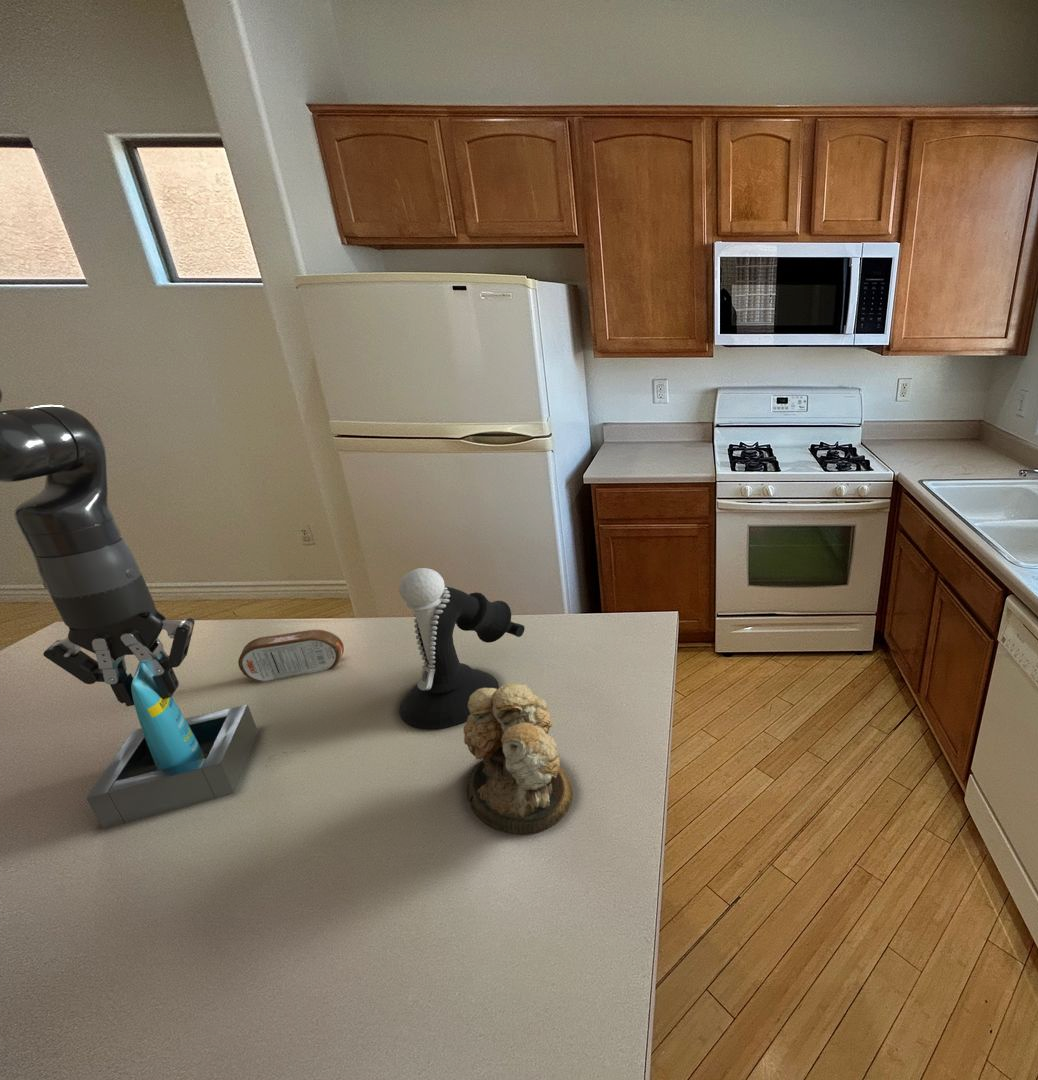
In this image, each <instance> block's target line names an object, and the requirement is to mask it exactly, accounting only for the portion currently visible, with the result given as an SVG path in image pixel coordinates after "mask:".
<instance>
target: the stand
mask: <svg viewBox="0 0 1038 1080" xmlns="http://www.w3.org/2000/svg"><path fill="white" fill-rule="evenodd" d="M184 718H185V720H186V721H187V723H188V725H189V727H190V729H191V730H192V732H193V734H194V736H195V738H196V740H197V742H198V743H199V745H200V747H201V749H202V751H203V753H204V754H205V753H208V752H209V753H208V754H207V756H206V759H202V760H198V761H194V762H190V763H186V764H182V765H178V766H174V767H170V768H166V769H162V770H157V768H156V765H155V763H154V760H153V757H152V755H151V752H150V750H149V747H148V744H147V742H146V739H145V736H144V733H143V731H142V728H141V727H140V728H138V729H133V730H131V733H130V734H129V735H128V737H127V738H126V739H125V741H124V743H123V744H122V745H121V747H120V748H119V750H118V751H117V752H116V754H115V756H114V757H113V759H111V761H110V762H109V764H108V765H107V767H106V768H105V769H104V772H103V773H102V774H101V775H100V777H99V778H98V780H97V781H96V783H95V784H94V786H93V787H92V788H91V790H90V791H89V792H88V794H87V795H86V797H85V800H86V801H87V803H88V805H89V807H90V808H91V810H92V812H93V813H94V815H95V816H96V819H97V820H98V822H99V823H100V826H101V827H102V829H103V830H106V829H110V828H112V827H113V828H114V827H117V826H120V825H125V824H127V823H131V822H135V821H138V820H142V819H145V818H149V817H150V818H151V817H153V816H156V815H160V814H163V813H168V812H171V811H175V810H178V809H182V808H185V807H190V806H193V805H196V804H200V803H204V802H207V801H211V800H215V799H218V798H222V797H226V796H228V795H233V794H235V791H236V789H237V787H238V784H239V782H240V779H241V776H242V774H243V772H244V770H245V767H246V764H247V762H248V759H249V757H250V755H251V752H252V749H253V747H254V744H255V741H256V739H257V737H258V734H259V729H258V727H257V725H256V721H255V720H254V716H253V714H252V712H251V709H250V707H249V704H243V705H240V706H235V707H229V708H225V709H222V710H217V711H212V712H208V713H204V714H199V715H194V716H190V717H184Z"/></svg>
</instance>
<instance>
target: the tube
mask: <svg viewBox="0 0 1038 1080" xmlns="http://www.w3.org/2000/svg"><path fill="white" fill-rule="evenodd" d="M153 675H154V674H152V673H151V671H150V670H149V669H148V667H147V666H146V665H145V664H144V663H141V662H140V661H139V660H138V664H137V666H136V670H135V672H134V675H133V681H132V684H131V690H132V697H133V701H134V705H133V706H134V709H135V711H136V715H137V718H138V721H139V722H138V723H139V724H140V729H141V728H142V731H143V733H144V736H145V739H146V742H147V744H148V747H149V750H150V752H151V755H152V757H153V760H154V763H155V765H156V768H157V769H156V771H158V770H162V769H166V768H170V767H174V766H178V765H182V764H186V763H190V762H194V761H198V760H202V759H207V756H206V755H205V753H203V751H202V749H201V747H200V745H199V743H198V742H197V740H196V738H195V736H194V734H193V732H192V730H191V729H190V727H189V725H188V723H187V721H186V720H185V718H186V717H185V716H184V714H183V712H182V711H181V709H180V707H179V705H178V704H177V702H176V700H175V699H174V697H173V696H172V697H170V698H165V699H162V697H161V695H160V693H159V691H158V689H157V686H156V684H155V682H154V680H153V678H152V676H153Z"/></svg>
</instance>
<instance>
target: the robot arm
mask: <svg viewBox="0 0 1038 1080" xmlns="http://www.w3.org/2000/svg"><path fill="white" fill-rule="evenodd" d="M3 394H4V393H3V390H2V388H1V387H0V404H2V400H3ZM104 443H105V442H104V440H103V438H102V436H101V433H100V432H99V431H98V428H96V426H95V425H94V424H93V423H92V422H91V421H90V420H89V419H88V418H87V417H86V416H84V415H83V414H81V413H80V412H78V411H77V410H75V409H72V408H70V407H67V406H63V405H55V404H54V405H53V404H46V405H44V404H43V405H36V406H30V407H25V408H23V407H22V408H15V409H9V410H1V411H0V483H18V482H19V483H20V482H23V481H29V480H33V479H36V478H37V479H38V478H41V477H45V482H44V487H43V488H42V490H41V491H39V492H38V493H37V494H36V495H34V496H32V497H30V498H28V499H26V500H24V501H23V502H21V503H19V504H18V505H17V506H16V507H15V508H14V510H13V517H14V520H15V523H16V525H17V526H18V529H19V530H20V533H21V534H22V536H23V538H24V541H25V543H26V544H27V546H28V548H29V550H30V552H31V554H32V556H33V559H34V561H35V565H36V568H37V571H38V575H39V577H40V579H41V582H42V585H43V587H44V589H46V590H47V593H48V594H49V596H50V598H51V600H52V602H53V605H54V606H55V608H56V610H57V612H58V614H59V616H60V617H61V619H62V621H63V623H64V625H65V626H67V627H68V633H67V637H66V638H63V639H56V640H55V642H53V643H52V644H51V645H50V646H49V647H47V648H46V650H45V651H44V652H43V657H45V659H47V660H49V661H50V662H52V663H53V664H55V665H56V666H58V667H60V668H61V669H62V670H64V671H66V672H67V673H69V674H70V675H72V676H73V677H74V678H76V679H78V680H79V681H80V682H82V683H83V684H86V685H93V684H95V683H105V684H107V685H109V686H110V688H111V689H112V692H113V694H114V696H115V697H116V700H117V701H118V702H119V703H121V704H125V707H132V706H135V705H134V701H133V697H132V690H131V684H132V681H133V678H134V676H133V675H132V673H130V672H128V673H127V669H128V668H127V664H126V659H125V657H126V656H130V655H131V656H135V658H136V659H137V660H138V662H139V661H140V662H141V663H144V664H145V665H146V666H147V667H148V669H149V670H150V671H151V673H152V674H154V675H153V676H152V678H153V680H154V682H155V684H156V686H157V689H158V691H159V693H160V695H161V697H162V699H165V698H170V697H173V695H174V693H175V692H176V691H177V689H178V688H179V685H180V682H179V679H178V677H177V676H176V673H175V671H174V668H178V667H179V666H181V664H182V663H183V661H184V659H185V658H186V657H187V656H188V652H189V648H190V644H191V640H192V635H193V633H194V632H193V631H194V627H195V620H194V619H193V618H191V617H186V618H183V620H176V619H174V620H173V619H167V618H166V616H165V615H164V614H163V613H161V612H160V611H159V610H157V608H156V605H155V602H154V599H153V597H152V594H151V592H150V589H149V588H148V585H147V583H146V580H145V578H144V576H143V573H142V571H141V569H140V567H139V565H138V563H137V559H136V557H135V556H134V554H133V552H132V550H131V548H130V547H129V545H128V544H127V543H126V541H125V540H124V537H123V536H122V533H121V530H120V529H119V528H120V527H119V526H118V524H117V522H116V520H115V517H114V515H113V513H112V511H111V508H110V506H109V497H108V495H109V491H108V490H109V487H108V469H107V453H106V446H105V444H104ZM163 630H165V631H166V633H167V637H168V638H169V639H172V642H171V643H172V644H171V647H170V651H169V655H168V654H167V652H166V651H165V649H164V644H163V642H162V641H161V640H160V639H159V636H160V634H161V632H162V631H163ZM81 649H84V650H86V651H88V652H91V653H93V654H95V658H96V659H94V658H93V657H91V656H90V655H88V654H87V653H85V652H84V651H83V650H81Z"/></svg>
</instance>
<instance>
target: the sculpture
mask: <svg viewBox="0 0 1038 1080" xmlns="http://www.w3.org/2000/svg"><path fill="white" fill-rule="evenodd" d="M398 593H399V595H400V597H401V598H402V599H403V601H405V603H406V607H407V608H408V609H410V610H412V611H413V617H414V619H413V622H414V623H415V624H414V629H415V630H414V633H415V634H416V635H415V639H416V640H417V641H416V644H417V645H419V646H418V647H417V650H419V655H420V656H421V660H422V661H423V663H422V664H423V665H422V669H421V674H420V676H419V679H418V681H417V682H416V683H417V684H416V685H415V686H413V687H412V688H411V689H410V690H409V692H407V694H406V695H405V696H404V697H403V699H402V701H401V703H400V707H399V714H400V717H401V719H402V721H403V722H404V723H405V724H406V725H408V726H410V727H412V728H415V729H419V730H430V731H431V730H443V729H448V728H453V727H456V726H460V725H462V724H464V723H465V724H466V723H467V719H468V716H469V715H471V714H470V711H469V709H468V701H469V698H470V696H471V695H472V693H474V692H475V691H476V690H478V689H481V688H495V689H499V687H500V686H499V682H498V679H496V677H494V676H493V675H492V674H490V673H489V672H487V671H484V670H480V669H479V668H478V669H477V668H472V667H470V665H468V664H466V663H462V662H460V660H459V657H458V654H457V650H456V647H455V644H454V643H455V642H454V636H453V635H454V630H455V626H457V628H458V629H459V630H461V631H465V632H475V633H476V635H477V637H478V639H479V640H480V641H481V642H483V643H488V644H489V643H494V642H496V641H498V640H500V639H501V638H502V637H504V635H505V634H509V635H513V636H515V637H516V638H517V637H518V638H520V637H522V636H523V635H524V633H525V630H526V628H525V625H524V624H521V623H517V622H514V621H512V610H511V607H510V606H509V604H508V603H507V602H505V601H503V600H494V601H490V600H488V598H487V597H486V596H485V595H484V594H483V593H481V592H471V593H467V592H465V591H463V590H460V589H457V588H454V587H451V586H446V585H445V580H444V578H443V576H442V575H441V574H440V573H439V572H437V571H436V570H434V569H432V568H427V567H419V568H414V569H412V570H410V571H409V572H407V573H406V574H405V575H403V576H402V578H401V579H400V582H399V585H398Z"/></svg>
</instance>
